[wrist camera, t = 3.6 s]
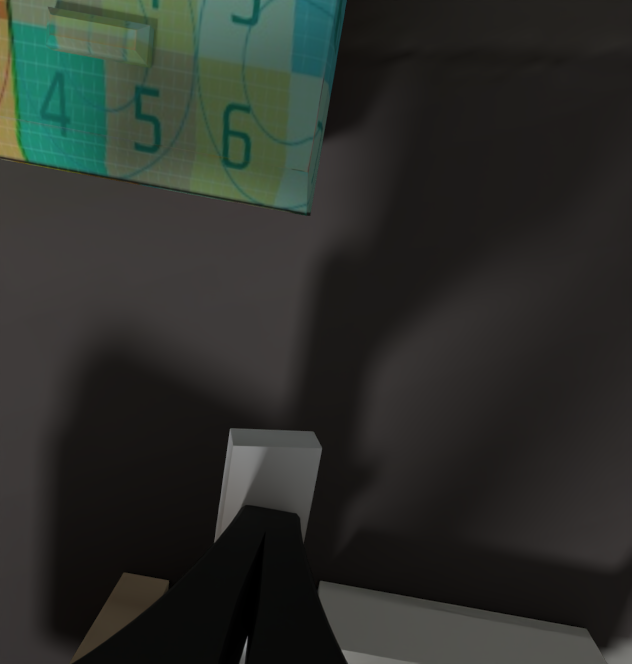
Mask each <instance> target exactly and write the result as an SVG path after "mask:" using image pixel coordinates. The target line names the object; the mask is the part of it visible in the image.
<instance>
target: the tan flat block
mask: <svg viewBox="0 0 632 664" xmlns="http://www.w3.org/2000/svg"><path fill="white" fill-rule="evenodd" d="M168 587H169V580H163V579H158V578H152V577H147V576H141V575H136V574H130V573H123V575H122V576H121V578H120V580H119V581H118V583H117V585H116V586H115V588H114V590H113V591H112V593H111V595H110V596H109V598H108V600H107V601H106V603H105V605H104V606H103V608H102V610H101V611H100V613H99V615H98V616H97V618H96V620H95V621H94V623H93V625H92V626H91V628H90V630H89V631H88V633H87V635H86V636H85V638H84V640H83V641H82V643H81V645H80V646H79V648H78V650H77V651H76V653H75V655H74V656H73V658H72V660H71V661H70V663H69V664H72V663H73V662H75V661H76V660H78V659H80V658H81V657H83V656H84V655H86V654H87V653H89V652H90V651H92V650H93V649H95V648H96V647H97V646H99V645H100V644H102V643H103V642H105V641H106V640H107V639H109V638H110V637H111V636H113V635H114V634H115V633H117V632H118V631H119V630H121V629H122V628H123V627H125V626H126V625H127V624H129V623H130V622H131V621H133V620H134V619H135V618H136V617H138V616H139V615H140V614H141V613H142V612H144V611H145V610H146V609H147V608H149V607H150V606H151V605H152V604H153V603H154V602H156V601H157V600H158V599H159V598H160V597H161V596H162V595H164V594H165V593H166V592H167V591H168Z"/></svg>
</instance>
